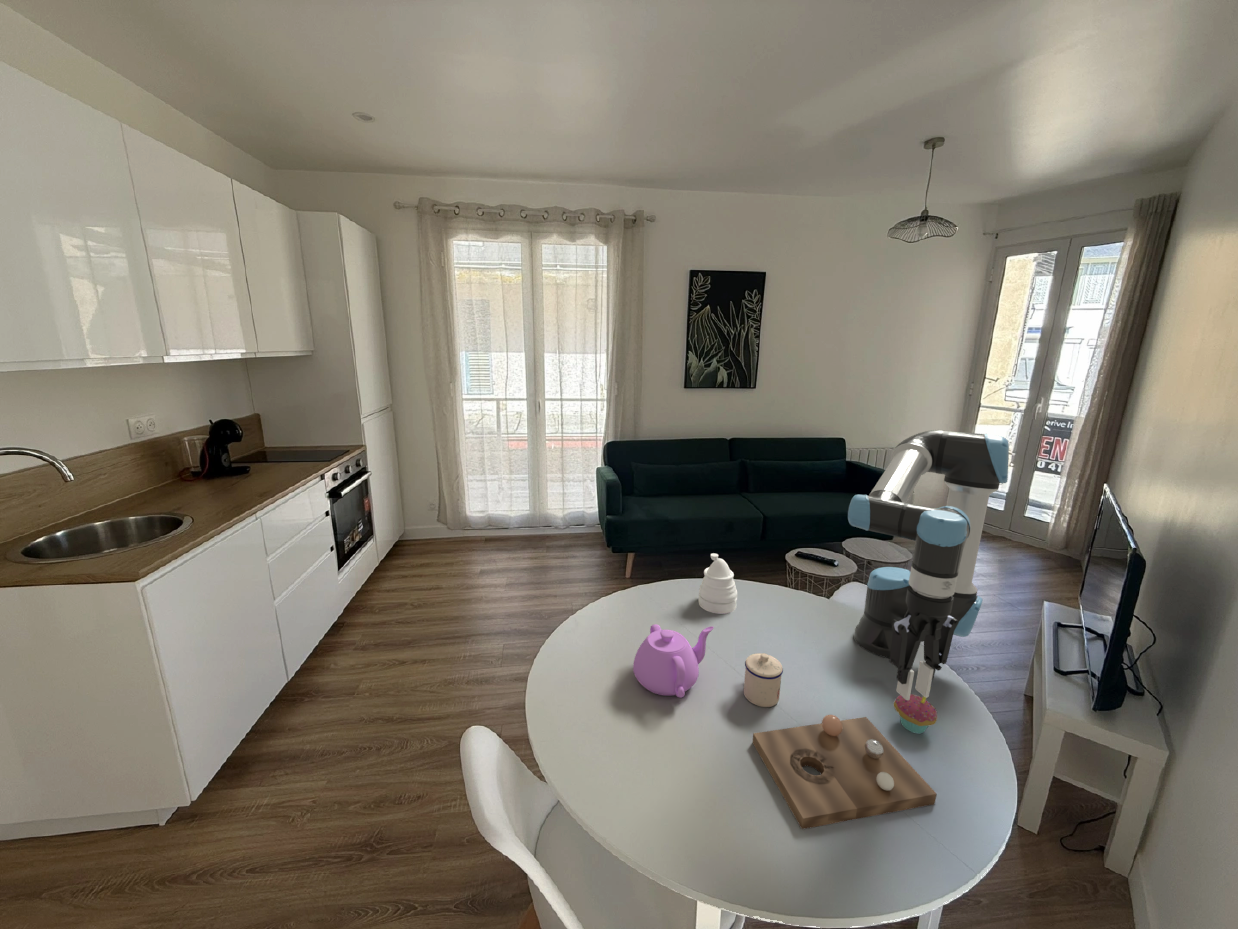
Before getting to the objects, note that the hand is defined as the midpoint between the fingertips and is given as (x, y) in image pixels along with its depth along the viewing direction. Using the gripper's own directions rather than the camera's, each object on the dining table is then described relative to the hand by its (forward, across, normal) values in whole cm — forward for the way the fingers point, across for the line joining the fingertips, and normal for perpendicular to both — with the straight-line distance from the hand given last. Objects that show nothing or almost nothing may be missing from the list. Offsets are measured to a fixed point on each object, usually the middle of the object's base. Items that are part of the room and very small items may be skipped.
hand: (912, 693), depth 98 cm
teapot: (+17, -40, +34) cm, 55 cm away
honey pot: (+17, -14, +68) cm, 71 cm away
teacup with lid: (+17, -20, +25) cm, 36 cm away
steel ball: (+12, -7, 0) cm, 14 cm away
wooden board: (+17, -15, 0) cm, 22 cm away
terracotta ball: (+12, -12, +7) cm, 18 cm away
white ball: (+13, -10, -7) cm, 18 cm away
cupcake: (+17, +10, +8) cm, 21 cm away
